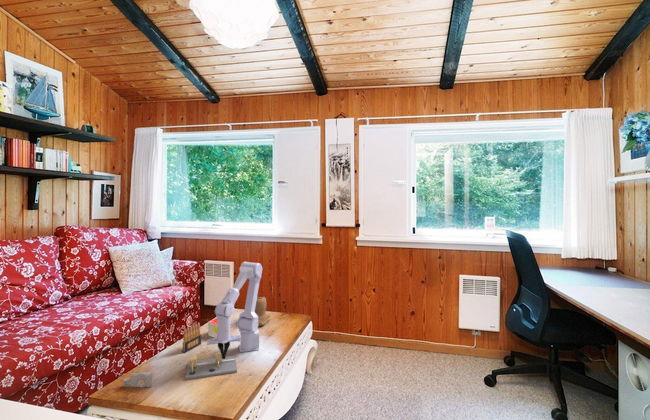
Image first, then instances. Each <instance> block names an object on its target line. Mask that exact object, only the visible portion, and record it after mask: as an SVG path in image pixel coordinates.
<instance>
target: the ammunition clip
mask: <svg viewBox="0 0 650 420" xmlns="http://www.w3.org/2000/svg"><path fill="white" fill-rule="evenodd" d="M183 330H184V331H183V338H182V339H183V342H182V350H181V351H182V353H184V354H185V353H188V352H190V351H191V350H193V349H196V348H197V347H199V346H201V345H202V335H201V324H200V322H199V321H198V322H197V323H195V324H192V325H190V326H187V327H186V328H184V329H183Z"/></svg>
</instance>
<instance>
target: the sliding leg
mask: <svg viewBox="0 0 650 420" xmlns="http://www.w3.org/2000/svg"><path fill="white" fill-rule="evenodd" d="M221 357H222V354H221V352H220V351H219V352H215V358H216V362H215V363H218V369H219V363H221Z"/></svg>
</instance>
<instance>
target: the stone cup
mask: <svg viewBox="0 0 650 420" xmlns="http://www.w3.org/2000/svg"><path fill="white" fill-rule="evenodd" d="M267 303H268V302H267V299H266V297H265V296H262V297H261V296H257V300H256V306H255V313H256V314H257V316H258V327H261V326H263V325H265V324H266V323H267V322H269V320H270V319H271V315H266V311H267V306H268V305H267Z"/></svg>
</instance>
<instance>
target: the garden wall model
mask: <svg viewBox="0 0 650 420" xmlns="http://www.w3.org/2000/svg"><path fill="white" fill-rule="evenodd" d="M155 374H156V372H155V373H149V372H146V371H141V372H138V373H130V375H129V376H130V378H126V377H125V378H123V381H122V382H123V387H124V388H129V387H130V388H153V387H154V385H155Z"/></svg>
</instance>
